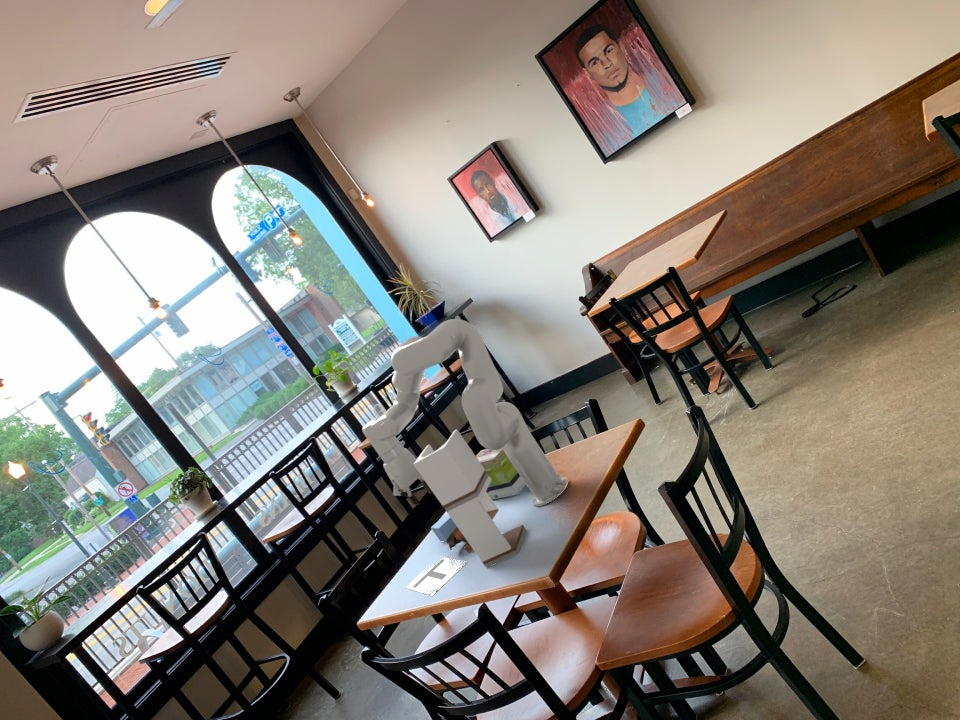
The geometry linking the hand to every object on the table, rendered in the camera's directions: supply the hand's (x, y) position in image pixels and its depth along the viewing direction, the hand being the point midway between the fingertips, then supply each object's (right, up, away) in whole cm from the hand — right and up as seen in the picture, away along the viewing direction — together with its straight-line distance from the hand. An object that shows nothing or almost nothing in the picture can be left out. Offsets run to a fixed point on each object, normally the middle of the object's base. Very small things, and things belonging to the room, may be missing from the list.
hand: (424, 498), depth 233 cm
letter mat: (+5, -19, -19) cm, 27 cm away
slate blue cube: (+9, -13, +2) cm, 16 cm away
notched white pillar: (+25, -8, -33) cm, 42 cm away
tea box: (+28, +1, +8) cm, 29 cm away
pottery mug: (+15, -11, -14) cm, 24 cm away
